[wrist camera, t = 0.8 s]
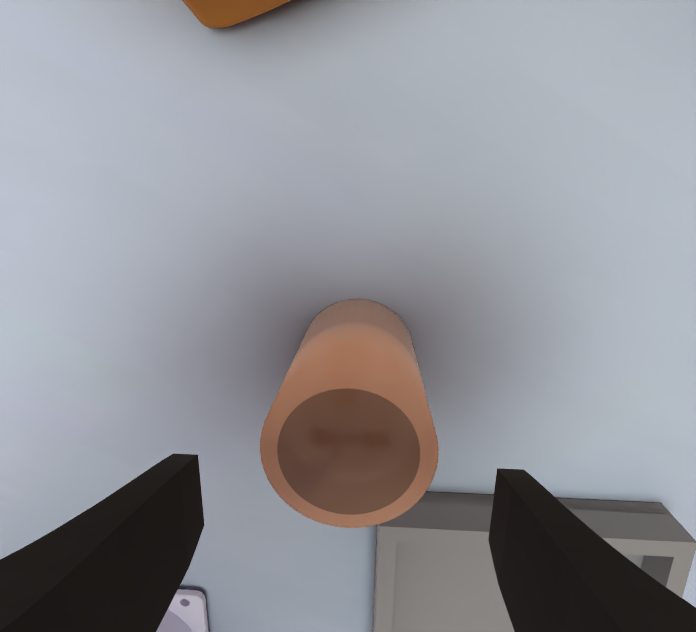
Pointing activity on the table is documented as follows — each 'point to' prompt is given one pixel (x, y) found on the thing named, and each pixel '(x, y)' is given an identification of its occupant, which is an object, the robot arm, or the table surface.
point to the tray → (477, 564)
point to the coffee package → (229, 10)
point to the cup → (351, 420)
